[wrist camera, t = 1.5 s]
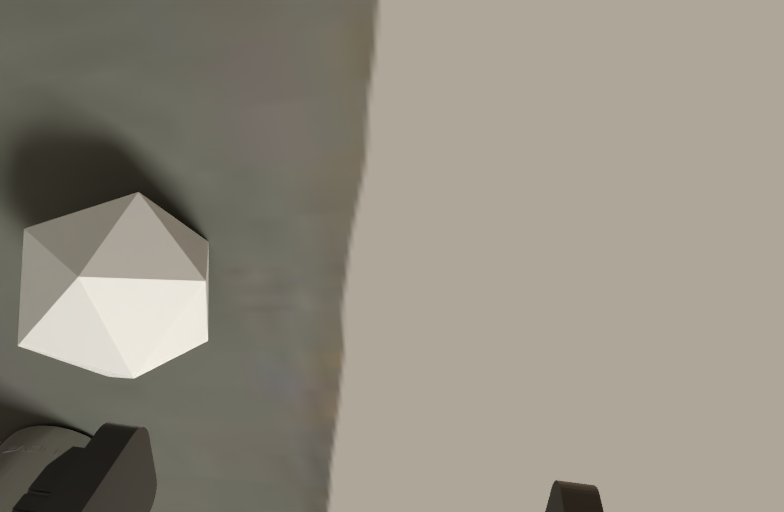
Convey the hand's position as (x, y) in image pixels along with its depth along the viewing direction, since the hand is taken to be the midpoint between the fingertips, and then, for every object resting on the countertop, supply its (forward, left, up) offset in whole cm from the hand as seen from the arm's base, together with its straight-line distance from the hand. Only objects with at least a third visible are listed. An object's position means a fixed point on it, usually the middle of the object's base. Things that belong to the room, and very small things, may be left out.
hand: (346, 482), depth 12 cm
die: (-6, +13, -19) cm, 24 cm away
